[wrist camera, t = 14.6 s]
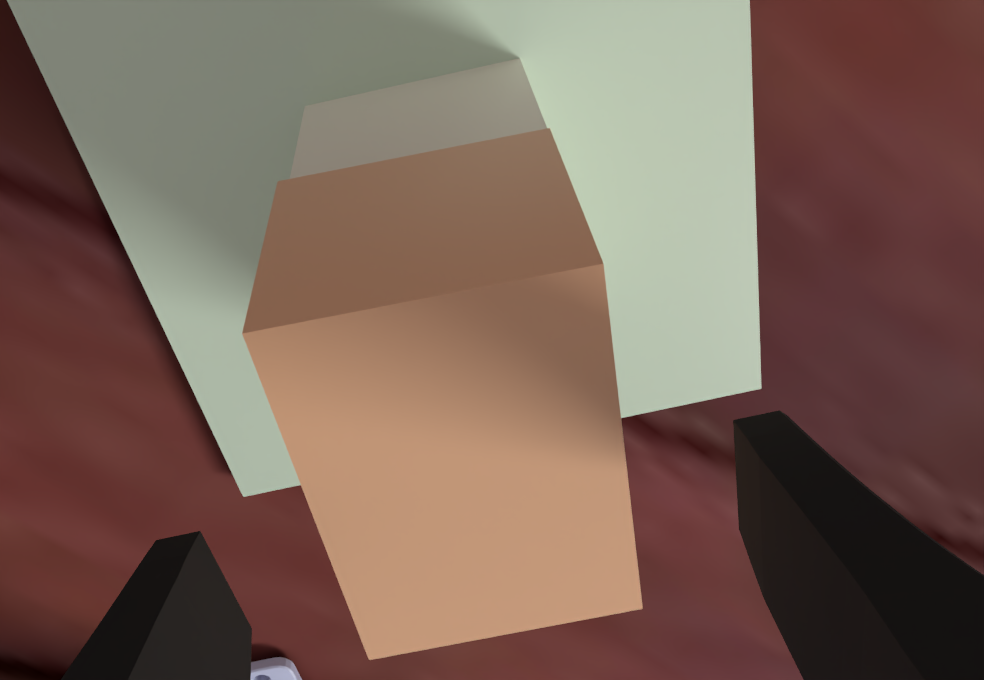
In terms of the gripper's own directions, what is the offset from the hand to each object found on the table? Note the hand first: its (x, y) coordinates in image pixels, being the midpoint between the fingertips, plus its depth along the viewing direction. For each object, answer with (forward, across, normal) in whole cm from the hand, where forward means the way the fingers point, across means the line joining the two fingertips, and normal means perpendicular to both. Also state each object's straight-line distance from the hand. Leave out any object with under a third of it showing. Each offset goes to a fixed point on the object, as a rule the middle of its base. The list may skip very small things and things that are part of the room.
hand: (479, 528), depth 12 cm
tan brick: (+5, 0, 0) cm, 5 cm away
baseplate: (+10, 0, 0) cm, 10 cm away
